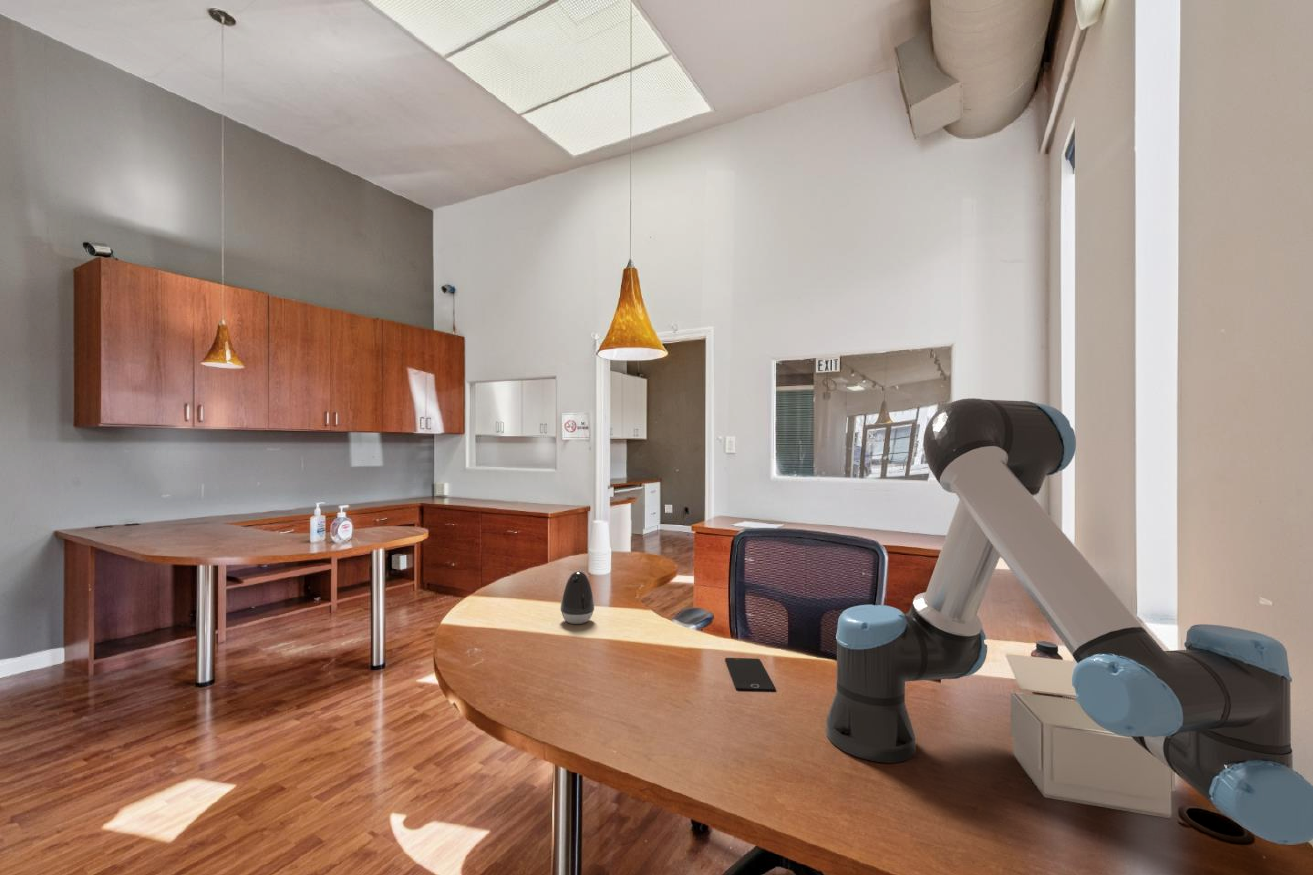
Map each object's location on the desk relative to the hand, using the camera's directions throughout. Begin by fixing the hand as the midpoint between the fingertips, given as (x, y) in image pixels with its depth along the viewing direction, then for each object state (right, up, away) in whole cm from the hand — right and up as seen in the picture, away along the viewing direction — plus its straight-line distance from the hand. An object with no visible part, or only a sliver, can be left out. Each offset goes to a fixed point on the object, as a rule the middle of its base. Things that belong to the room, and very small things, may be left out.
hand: (1078, 666), depth 89 cm
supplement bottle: (+17, -19, +30) cm, 39 cm away
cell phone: (-49, -18, +36) cm, 64 cm away
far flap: (+1, -4, +6) cm, 7 cm away
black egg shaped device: (-95, -18, +73) cm, 121 cm away
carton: (-2, -17, -4) cm, 18 cm away
